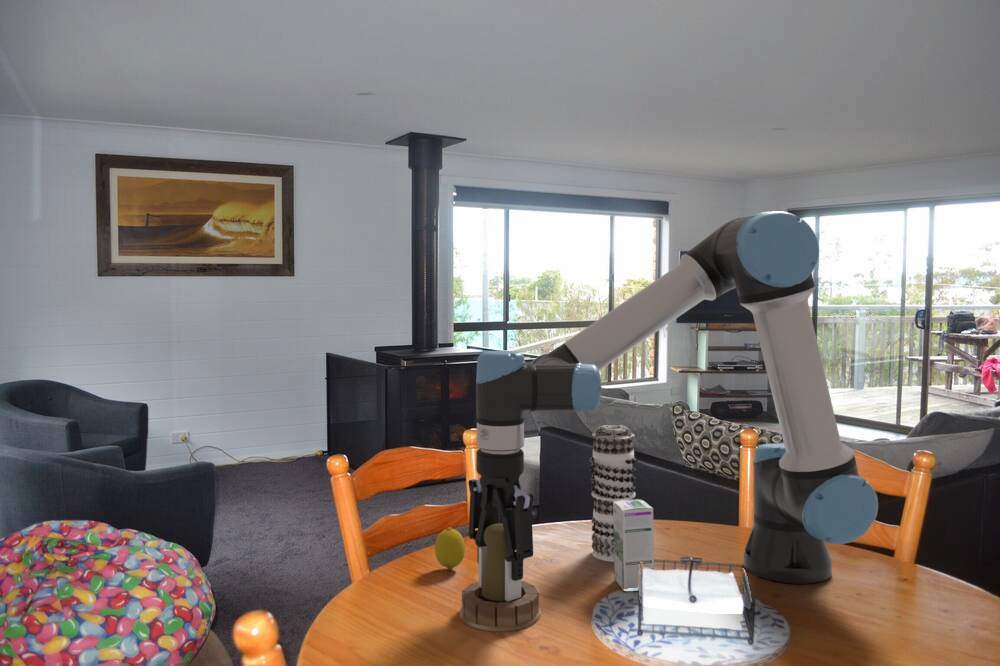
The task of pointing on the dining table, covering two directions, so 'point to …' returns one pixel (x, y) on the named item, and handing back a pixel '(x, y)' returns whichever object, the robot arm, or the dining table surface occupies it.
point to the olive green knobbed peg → (495, 563)
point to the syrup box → (632, 540)
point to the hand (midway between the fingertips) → (499, 591)
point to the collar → (500, 609)
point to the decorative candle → (610, 483)
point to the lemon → (449, 548)
